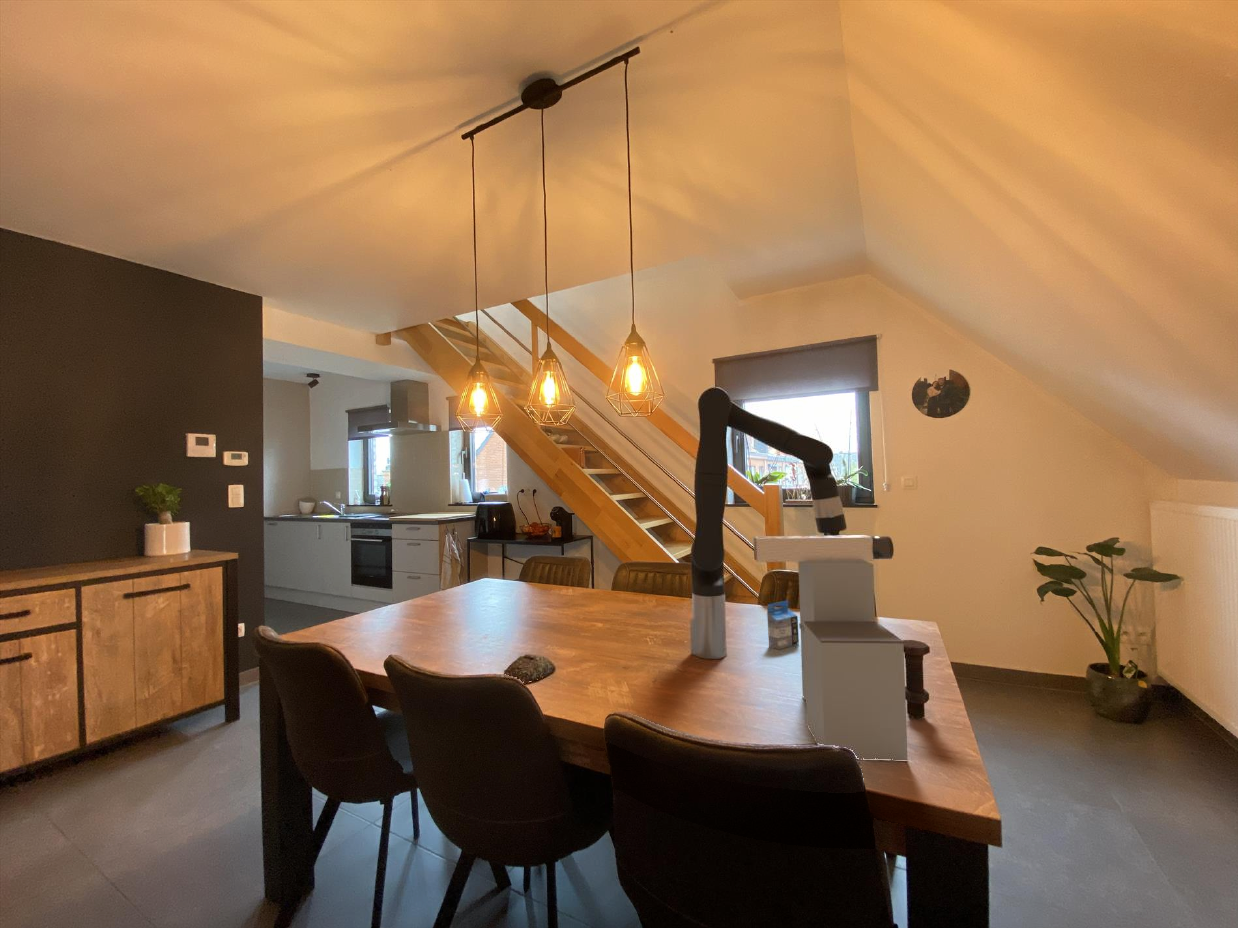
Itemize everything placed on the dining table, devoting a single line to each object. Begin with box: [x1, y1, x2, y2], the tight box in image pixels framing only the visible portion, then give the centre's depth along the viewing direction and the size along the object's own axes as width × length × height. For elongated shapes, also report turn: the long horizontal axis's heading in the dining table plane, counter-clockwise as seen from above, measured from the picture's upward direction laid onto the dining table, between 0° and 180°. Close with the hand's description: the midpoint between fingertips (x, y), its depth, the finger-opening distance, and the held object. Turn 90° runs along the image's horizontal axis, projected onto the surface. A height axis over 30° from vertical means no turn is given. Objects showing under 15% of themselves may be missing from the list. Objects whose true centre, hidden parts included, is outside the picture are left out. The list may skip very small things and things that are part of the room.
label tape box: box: [766, 600, 800, 650], centre depth 151 cm, size 9×4×12 cm, turn 120°
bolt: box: [901, 639, 931, 720], centre depth 106 cm, size 6×5×15 cm
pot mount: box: [797, 561, 908, 761], centre depth 104 cm, size 15×26×32 cm, turn 174°
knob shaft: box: [753, 534, 895, 563], centre depth 111 cm, size 28×5×5 cm, turn 84°
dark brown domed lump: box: [503, 653, 556, 684], centre depth 135 cm, size 13×12×5 cm
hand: (840, 572), depth 140 cm, fingers open, 8 cm apart
